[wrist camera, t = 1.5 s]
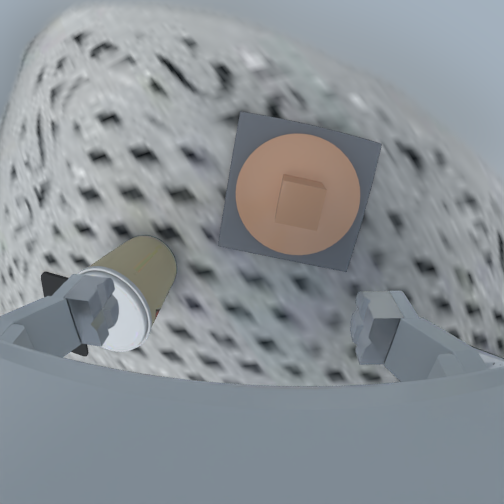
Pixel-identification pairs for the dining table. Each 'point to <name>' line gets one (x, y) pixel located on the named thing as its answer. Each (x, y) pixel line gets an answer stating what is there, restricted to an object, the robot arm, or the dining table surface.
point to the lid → (297, 194)
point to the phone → (49, 288)
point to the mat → (265, 128)
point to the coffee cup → (136, 287)
